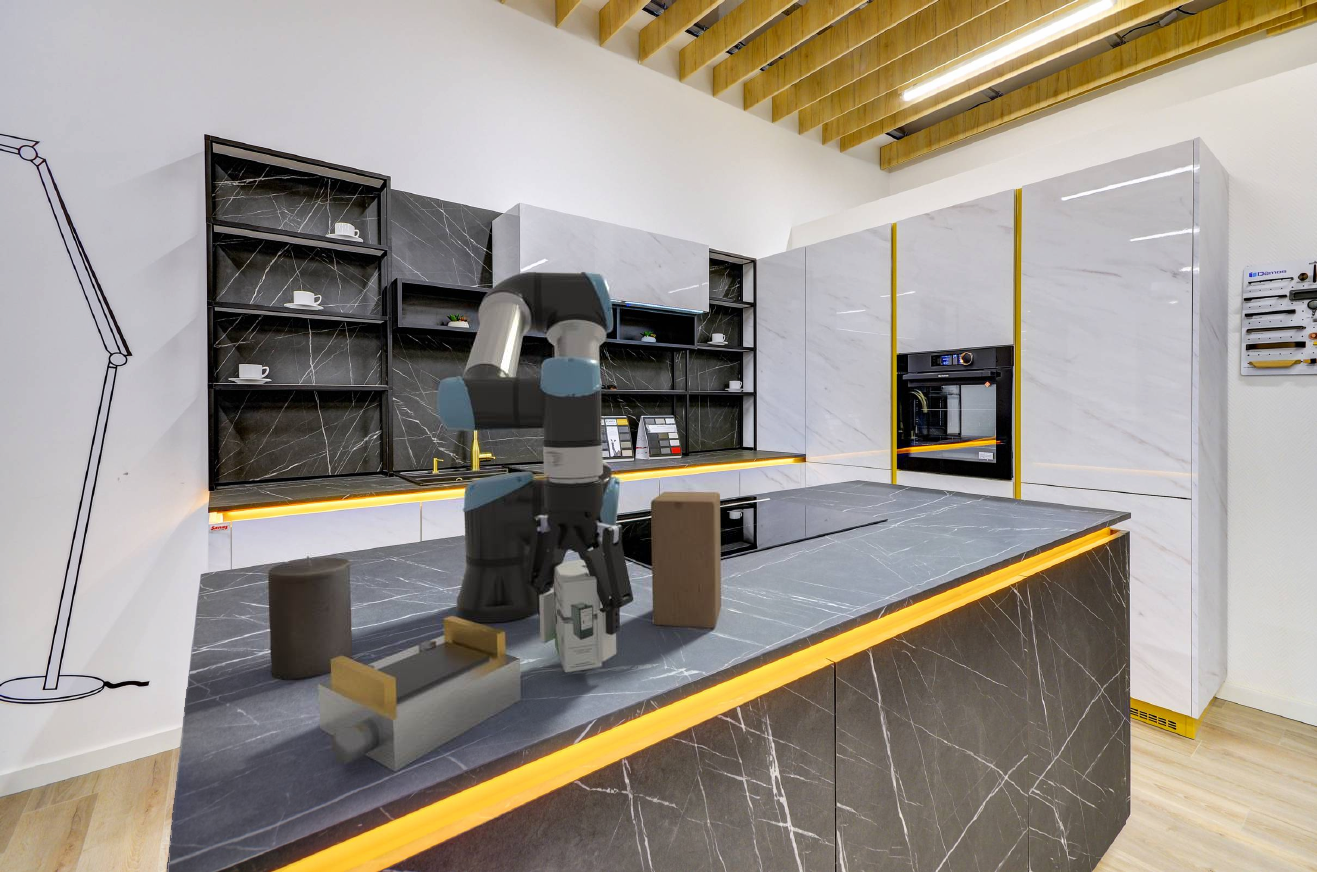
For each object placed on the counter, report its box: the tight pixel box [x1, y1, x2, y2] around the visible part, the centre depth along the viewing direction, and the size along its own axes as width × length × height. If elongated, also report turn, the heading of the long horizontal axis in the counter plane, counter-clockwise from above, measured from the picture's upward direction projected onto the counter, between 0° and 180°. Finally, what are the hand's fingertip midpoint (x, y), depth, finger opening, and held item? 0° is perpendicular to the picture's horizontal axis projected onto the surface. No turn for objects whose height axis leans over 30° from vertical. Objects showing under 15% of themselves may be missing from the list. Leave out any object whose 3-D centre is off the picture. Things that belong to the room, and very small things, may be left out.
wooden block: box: [650, 491, 722, 629], centre depth 94 cm, size 10×10×20 cm
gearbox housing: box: [318, 615, 522, 772], centre depth 64 cm, size 14×19×8 cm
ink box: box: [553, 559, 603, 673], centre depth 75 cm, size 9×5×12 cm, turn 19°
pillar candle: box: [267, 555, 353, 681], centre depth 79 cm, size 10×10×15 cm
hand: (577, 647), depth 76 cm, fingers closed on ink box, 9 cm apart
